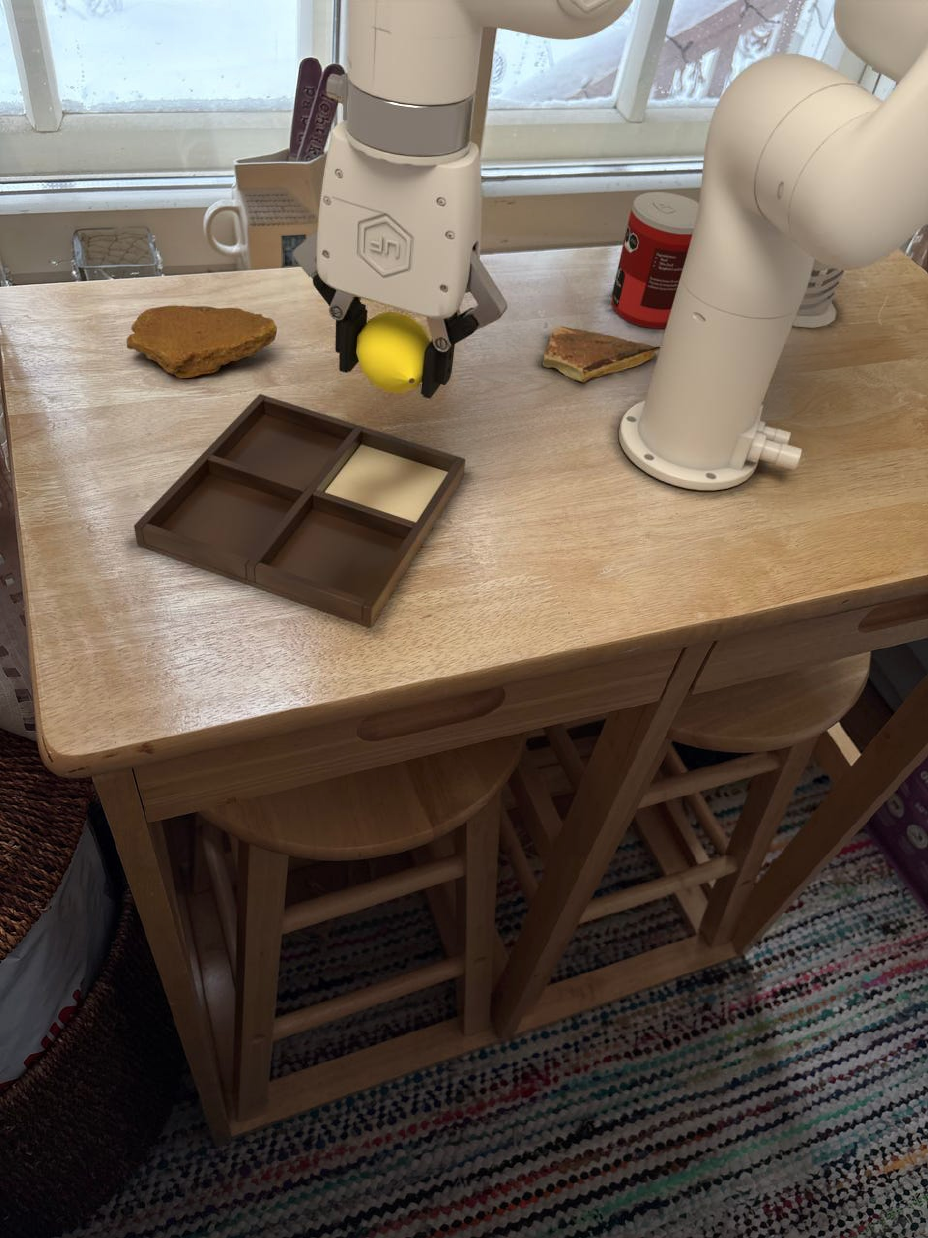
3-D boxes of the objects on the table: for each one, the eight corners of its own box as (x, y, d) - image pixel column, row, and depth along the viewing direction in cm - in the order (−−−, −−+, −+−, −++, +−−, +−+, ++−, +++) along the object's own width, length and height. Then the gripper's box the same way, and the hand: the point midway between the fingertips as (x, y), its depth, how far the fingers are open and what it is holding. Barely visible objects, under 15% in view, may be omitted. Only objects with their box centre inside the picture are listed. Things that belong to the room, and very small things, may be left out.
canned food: (630, 283, 108) (655, 183, 100) (694, 311, 105) (725, 211, 97) (595, 308, 104) (618, 206, 96) (661, 338, 101) (691, 235, 93)
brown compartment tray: (463, 477, 82) (466, 458, 81) (370, 628, 70) (371, 608, 68) (260, 412, 85) (259, 393, 84) (137, 545, 73) (133, 525, 71)
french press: (730, 293, 109) (812, 45, 91) (796, 270, 115) (886, 32, 96) (798, 336, 104) (898, 82, 86) (864, 310, 110) (972, 67, 91)
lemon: (344, 363, 73) (346, 296, 69) (413, 356, 75) (418, 290, 71) (371, 417, 69) (374, 350, 65) (443, 409, 71) (450, 342, 67)
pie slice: (658, 359, 98) (662, 343, 97) (650, 401, 93) (655, 385, 92) (552, 336, 99) (555, 320, 98) (538, 376, 94) (541, 360, 92)
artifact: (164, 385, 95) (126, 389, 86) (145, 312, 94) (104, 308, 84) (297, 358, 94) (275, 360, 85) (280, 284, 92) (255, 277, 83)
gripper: (249, 99, 57) (261, 367, 70) (526, 173, 55) (485, 438, 68) (307, 63, 62) (308, 319, 75) (564, 129, 60) (519, 383, 73)
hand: (392, 373), depth 71 cm, fingers closed on lemon, 5 cm apart
